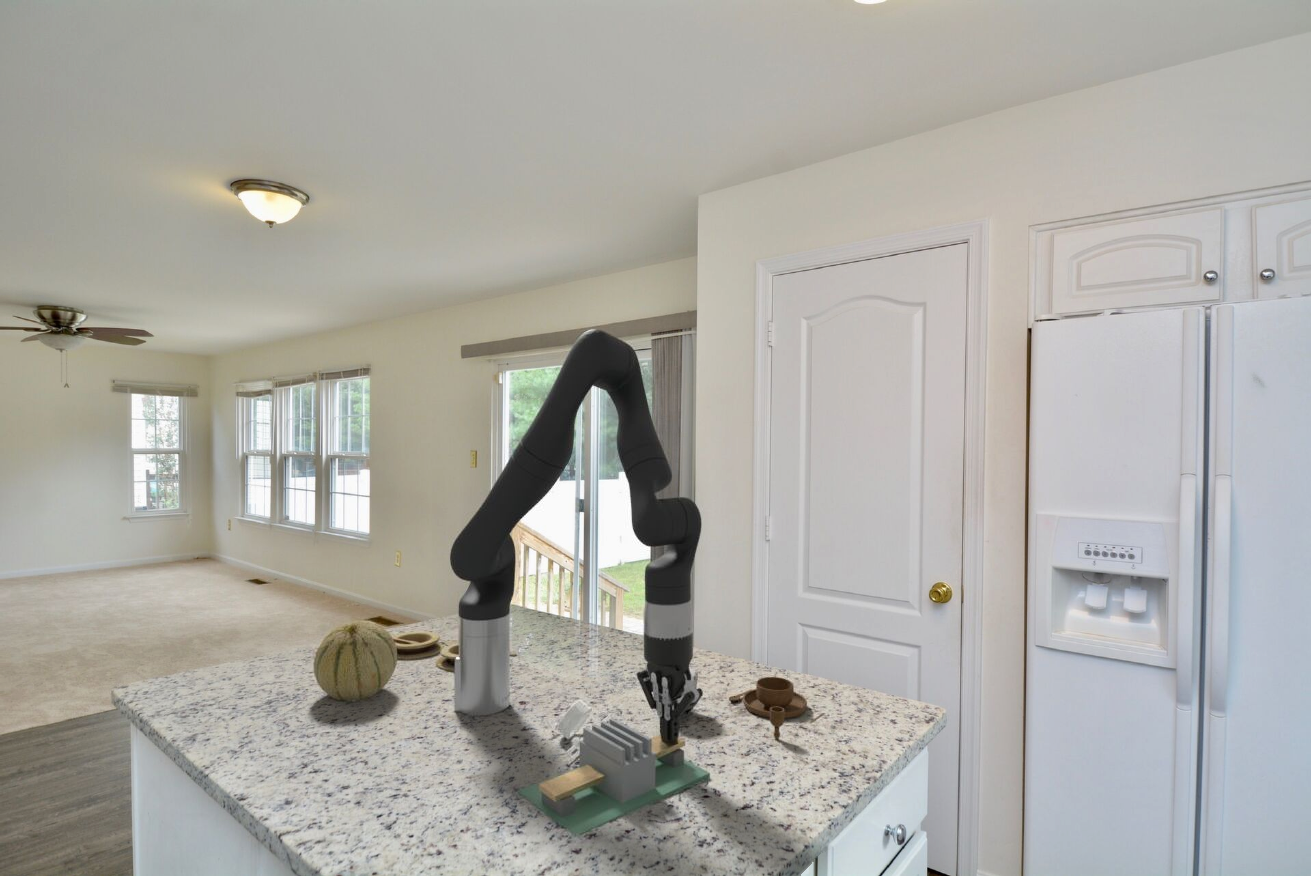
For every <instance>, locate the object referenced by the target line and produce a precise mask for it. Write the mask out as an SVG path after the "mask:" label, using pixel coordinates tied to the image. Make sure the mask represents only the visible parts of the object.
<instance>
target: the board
mask: <svg viewBox="0 0 1311 876" xmlns="http://www.w3.org/2000/svg"><path fill="white" fill-rule="evenodd" d="M608 721H609V722H608ZM608 721H607V722H605V721H603V722H601V721H600V722H601V727H600V726H598V724H596V723H595V724H592V725H591V728H590V727H588V726H587V727H586V726H585V727H584V728H583V729H582V731H583V732H582V733H583V735H582V737H583V740H582V741H580V746H579V749H580V755H579V756H578V757H579V759H578V762H579V764H578V765H579V766H578V767H576V768H575V767H574V768H573V769H571V770H567V771H565V772H562V773H561V774H557V775H555V776H553V777H550V778H548V779H544V780H542V781H540V782H538V783H534V784H532V785H529V786H527V787H525V788H521V789H519V790H518V791H517V793H519V794H520V795H521V796H523V798H525V799H527V800H528V801H529V802H530V803H531V804H532V805H534V806H535V807H537V808H538V809H540V810H541V812H543V813H545V814H546V815H547V816H549V817H550V818H551V819H552V820H553V821H555V822H556V823H558V825H560V826H561V827H563V828H564V829H565V830H567V831H568V832H569V833H571V834H572V835H573V836H574V837H578V836H579V835H581V834H584V833H586V832H589V831H591V830H593V829H596V828H598V827H601V826H602V825H605V824H607V823H610V822H612V821H613V820H614V821H615V820H616V819H619V818H620V817H623V816H626V815H628V814H630V813H633V812H635V811H637V810H639V809H641V808H645V807H646V806H648V805H651V804H654V803H655V802H658V801H660V800H662V799H664V798H665V799H666V798H667V797H669V796H671V795H674V794H676V793H679V792H681V791H683V790H685V789H688V788H690V787H693V786H695V785H697V784H700V783H702V782H704V781H707V780H709V779H711V773H710V772H709V771H707V770H705V769H703V768H702V767H699V766H698V765H696V764H695V763H692V762H690V761H688V760H687V759H685V750H684V749H681V748H679V749H677V750H675V751H673V752H670V753H668V754H666V755H664V756H662V757H660V758H657V759H655V753H654V752H652V738H651V737H650V736H647V735H646V734H644V733H642V732H640V731H638V730H636V729H634V728H633V727H630V726H629V725H627V724H623V723H621V722H622V721H619V720H617V719H616V718H614V717H613V718H611V717H610V719H609V720H608ZM586 765H589V766H591V767H592V768H594V769H595V770H597V771H598V772H600V773H601V774H603V775H605V781H604V782H602V783H599V784H597V785H595V786H592V787H590V788H588V789H585V790H583V791H581V792H578V793H576V794H574V795H571V796H569V797H567V798H564V799H562V800H560V801H557V802H555V801H553V800H552V799H551V798H549V797H548V796H547V795H545V794H544V793H543V792H541V791H540V790H539V784H541V783H543V782H546V781H548V780H551V779H553V778H556V777H558V776H561V775H563V774H566V773H568V772H571V771H573V770H576V769H578V768H581V767H583V766H586ZM708 778H709V779H708ZM706 779H707V780H706ZM703 780H704V781H703ZM699 782H700V783H699Z"/></svg>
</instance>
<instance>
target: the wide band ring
mask: <svg viewBox="0 0 1311 876" xmlns="http://www.w3.org/2000/svg"><path fill="white" fill-rule="evenodd" d="M591 713H592V707H590V706H589V705H588V704H587V703H586V702H584V700H582V699H578V700H577V701H576V702H574V703H573V704H572V705H571V706H570V707H569V708H568V710H567V711H566V712H565V713H564V714H563V716H562V717H561V719H560V721H559V722H558V721H557V720H555V718H552V719H551V720H550V721H549V722H548V723H547V726H548V727H550V728H554V727H556V730H557V732H559V733H560V734H561V735H562V736H563V737H564V738H565V739H567V740H570V739H572V738H573V736H575V735H576V734H577V733H578V732H579V731H580V730H581V728H582V727H583V726H584V724H585V723H586V722H587V720H588V719H589V717H590V716H591ZM614 716H615V714H614V713H612V712H610V713H609V714H608V715H607V716H606V717H604V718H603V719H602V720H600V721H599V723H597V725H598V726H600V727H601V722H603V721H605V722H607V723H608V721H609V719H611V718H613V719H614ZM620 722H621V723H623V724H625V725H627V723H626V722H625V721H624V720H623V721H620ZM582 740H583V736H582V737H581V738H580V739H578V741H577V742H576V743H574V744H573V745H572V746H571V747H569V748H568V749H567V750H566V751H565V753H564V754H566V755H567V756H570V755H571V754H572V753H573V752H574V751H575V750H576V749H577V748H578V747H580V741H582ZM578 757H580V748H579V749H577V751H576V752H575V753H573V754H572V755H571V757H569V758H568V759H567V760H565V762H564V763H566V764H567V765H568V766H570V764H571V763H573V761H575V760H576V759H577V758H578Z"/></svg>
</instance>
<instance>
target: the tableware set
mask: <svg viewBox="0 0 1311 876" xmlns="http://www.w3.org/2000/svg"><path fill="white" fill-rule="evenodd" d="M391 637H392V638H393V640H394V642H395V644H396V647H397V660H417V659H424V658H428V657H432V656H435V655H438V654H440V656H441V657H439V658H437V660H436V661H435V666H436V667H437V668H438V669H439V670H443V671H446V672H453V673H455V659H456V658H457V657H458V656H459V641H447V640H443V639H440V638H441V636H440V635H439V634H438V633H436V632H432V631H424V630H422V631H421V630H419V631H409V632H402V633H397V634H396V635H393V636H391ZM444 645H445V647H444ZM516 656H517V652H515V651H510V657H516Z"/></svg>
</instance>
